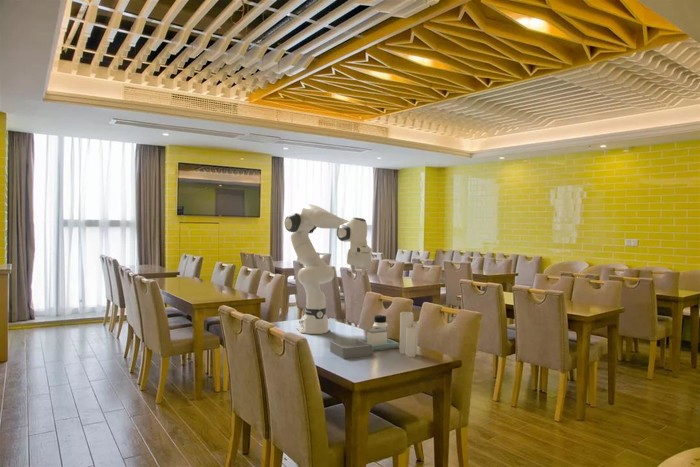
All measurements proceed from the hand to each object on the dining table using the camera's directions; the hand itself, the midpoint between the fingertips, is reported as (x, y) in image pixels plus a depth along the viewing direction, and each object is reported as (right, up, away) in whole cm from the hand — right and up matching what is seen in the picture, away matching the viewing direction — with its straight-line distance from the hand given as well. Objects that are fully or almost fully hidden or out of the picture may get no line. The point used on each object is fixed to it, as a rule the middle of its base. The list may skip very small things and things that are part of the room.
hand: (358, 274), depth 261 cm
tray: (+10, -37, -4) cm, 39 cm away
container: (+12, -37, +14) cm, 42 cm away
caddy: (+10, -37, -4) cm, 38 cm away
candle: (+25, -38, -17) cm, 49 cm away
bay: (-4, -37, -18) cm, 42 cm away
